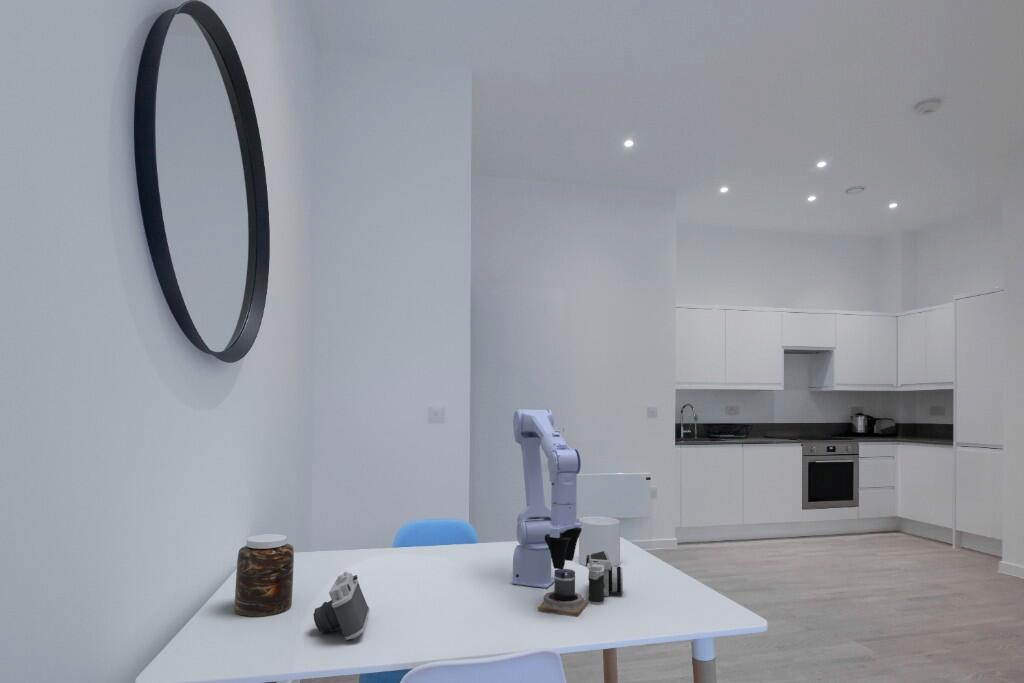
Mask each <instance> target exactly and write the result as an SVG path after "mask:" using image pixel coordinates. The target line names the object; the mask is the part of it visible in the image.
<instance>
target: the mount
mask: <svg viewBox="0 0 1024 683" xmlns="http://www.w3.org/2000/svg"><path fill="white" fill-rule="evenodd" d="M588 605H589V600H588V599H584V597H583V595H582V594H580V593H577V592H575V600H574V601H569V602H561V601H559V600H558V601H555V600H554V590H553V591H549V592H546V593H545V594H543V601H542V602H541V603H540V604H539V606H537V611H538V612H542V613H549V614H556V615H557V614H558V615H563V616H570V617H579V616H580V614H582V612H583V611H584V610H585V608H586V607H587V606H588Z"/></svg>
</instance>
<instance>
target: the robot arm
mask: <svg viewBox="0 0 1024 683" xmlns="http://www.w3.org/2000/svg"><path fill="white" fill-rule="evenodd" d="M554 423H555V418H554V413H553V412H552V411H551V409H549V408H548V409H547V408H546V409H520V408H517V409H516V411H514V414H513V420H512V425H513V426H512V427H513V436H514V441H515V443H517V444H518V445H520V448H521V456H522V467H523V468H522V469H523V476H524V477H523V479H524V489H525V500H526V504H525V505H526V508H525V509H523V510H522V511H521V512H520V513H519V514H518V515H517V519H516V538H517V539H516V540H517V542H518V544H517V545H516V546H515V548H514V550H513V555H512V557H513V558H512V581H511V584H512V585H519V586H525V587H526V586H527V587H528V586H529V587H534V588H543V589H548V588H549V587H550V586H551V585H552V584H554V577H552V567H553V569H554V570H557V569H565V563H566V561H569V562H570V561H571V562H573V560H574V556H575V552H576V548H577V543H578V541H579V535H580V533H581V531H582V528H580V527H581V526H582V524H581V523H579V522H577V486H578V484H577V477H578V476H577V475H578V474H580V471H581V468H582V459H581V455H580V451H579V450H578V449H577V448H573V447H570V446H569V445H568V443H567V442H566V440H565V439H564V437H563V435H562V434H561V433H560V432H559V431H555V430H554V426H555V425H554ZM540 447H541V449H542V451H543V453H544V455H545V457H546V458H547V468H548V472H549V473H548V474H549V476H548V477H549V478H548V479H549V482H551V486H550V487H551V488H550V489H551V493H550V494H551V500H550V502H551V504H550V505H551V506H550V507H551V508H548V507H547V506H546V503H545V502H546V500H545V493H544V492H545V491H544V483H543V482H544V480H543V471H542V460H541V450H540Z"/></svg>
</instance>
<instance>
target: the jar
mask: <svg viewBox="0 0 1024 683" xmlns="http://www.w3.org/2000/svg"><path fill="white" fill-rule="evenodd" d="M287 538H288V537H287V536H286V535H285V534H280V533H264V534H255V535H251V536H249V537H248V538H246V544H245V545H244V546H242V547H241V548H240V549H238V553H237V559H236V560H237V561H236V576H235V591H234V592H235V593H234V612H235V613H236V614H237V615H239V616H243V617H251V618H252V617H255V618H257V617H259V618H261V617H268V616H274V615H279V614H282V613H284V612H286V611H288V610H289V609H292V605H293V604H292V603H293V586H294V585H293V584H294V566H295V565H294V563H295V562H294V559H295V556H294V555H295V553H294V551H295V550H294V545H292V544H289V543H288V542H287Z"/></svg>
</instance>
